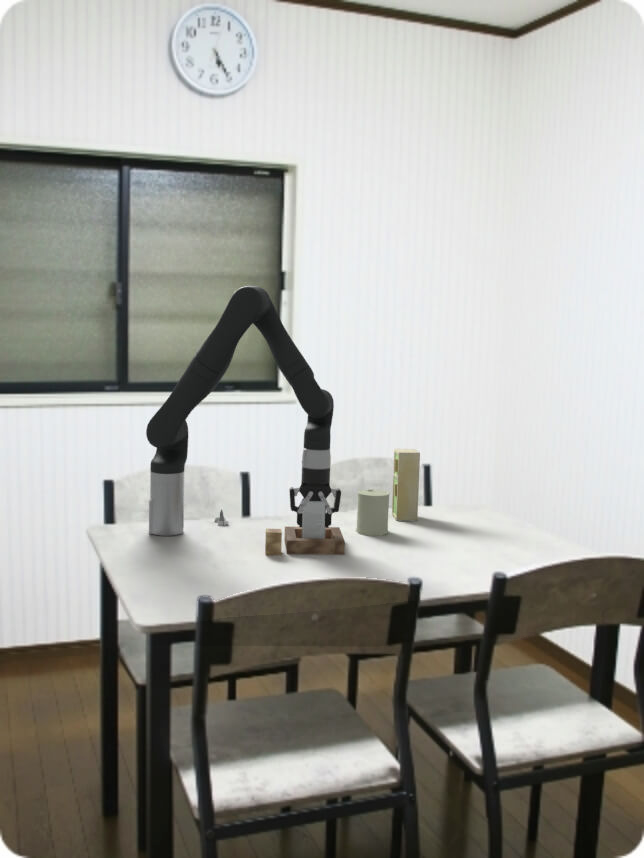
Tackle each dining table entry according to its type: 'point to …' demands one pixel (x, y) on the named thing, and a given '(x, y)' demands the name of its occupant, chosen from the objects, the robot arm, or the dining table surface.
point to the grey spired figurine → (221, 519)
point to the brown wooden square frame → (314, 542)
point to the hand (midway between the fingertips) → (313, 526)
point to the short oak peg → (273, 542)
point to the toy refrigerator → (405, 484)
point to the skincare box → (314, 520)
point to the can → (372, 512)
